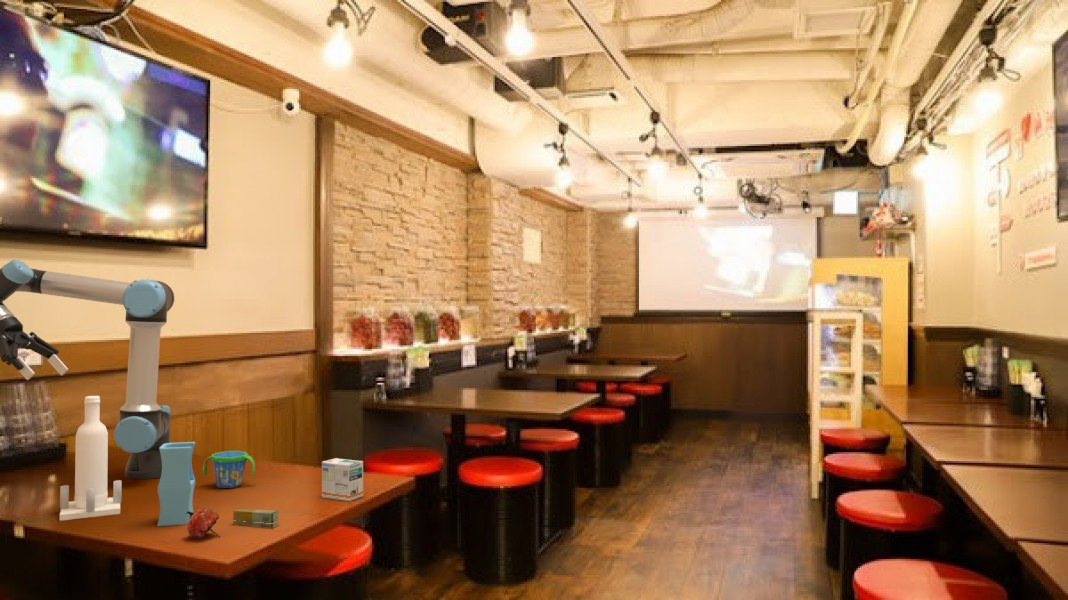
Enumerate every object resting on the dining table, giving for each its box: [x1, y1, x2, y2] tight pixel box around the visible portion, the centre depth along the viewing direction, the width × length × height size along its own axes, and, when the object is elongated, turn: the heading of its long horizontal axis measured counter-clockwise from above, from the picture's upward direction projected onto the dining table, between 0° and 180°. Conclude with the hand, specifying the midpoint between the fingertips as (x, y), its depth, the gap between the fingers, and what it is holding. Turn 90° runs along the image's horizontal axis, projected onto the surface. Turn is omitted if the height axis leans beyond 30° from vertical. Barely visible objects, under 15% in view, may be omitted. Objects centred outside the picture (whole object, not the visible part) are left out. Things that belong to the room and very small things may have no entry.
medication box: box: [232, 507, 279, 529], centre depth 195 cm, size 12×3×4 cm, turn 76°
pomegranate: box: [185, 507, 221, 540], centre depth 185 cm, size 7×7×10 cm
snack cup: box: [202, 450, 256, 489], centre depth 235 cm, size 16×10×10 cm
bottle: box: [73, 395, 109, 509], centre depth 207 cm, size 8×8×30 cm
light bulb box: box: [321, 457, 364, 502], centre depth 223 cm, size 11×7×11 cm, turn 65°
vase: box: [157, 441, 196, 527], centre depth 198 cm, size 8×8×20 cm
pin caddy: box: [59, 479, 123, 522], centre depth 207 cm, size 15×15×8 cm
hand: (48, 374), depth 225 cm, fingers open, 13 cm apart
